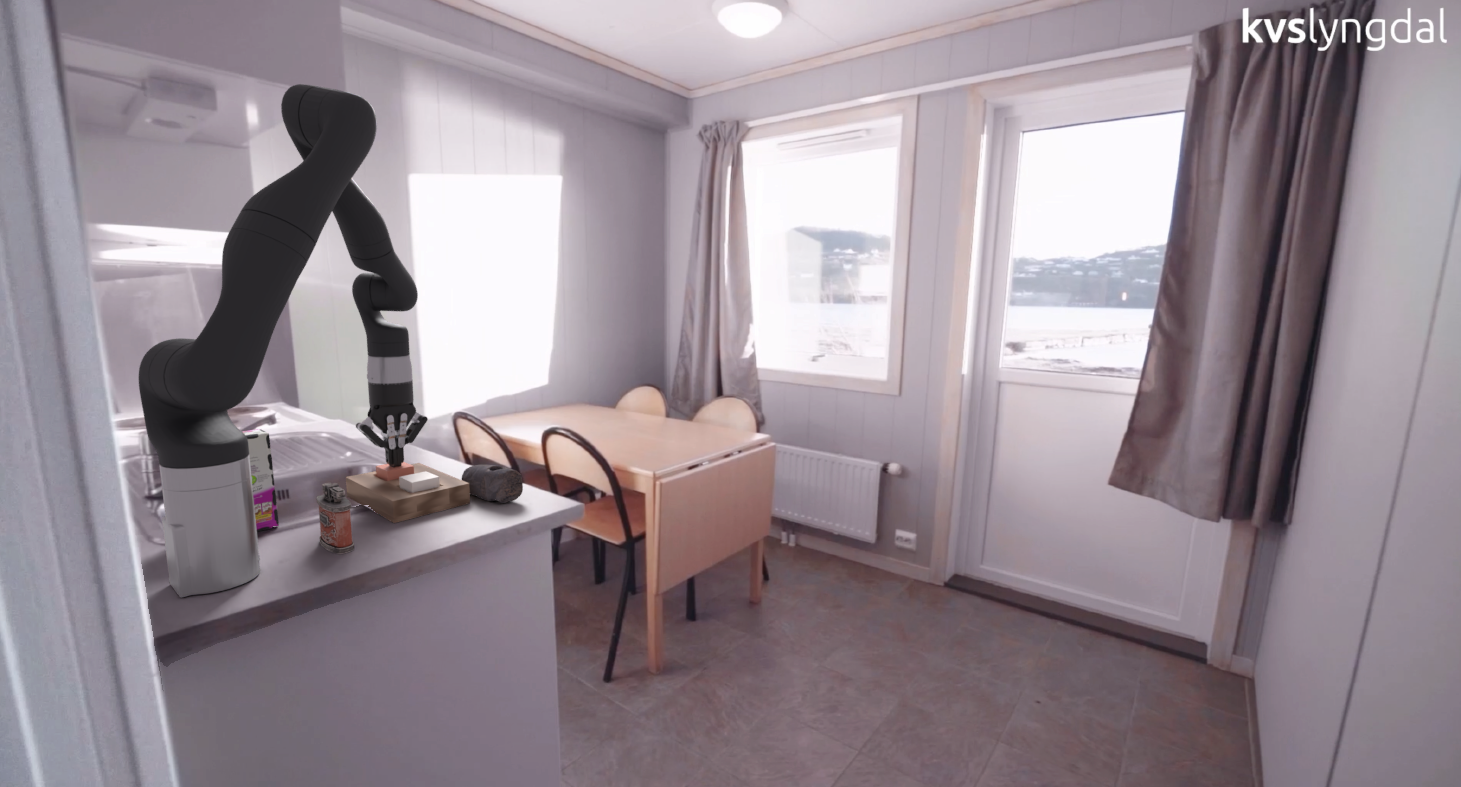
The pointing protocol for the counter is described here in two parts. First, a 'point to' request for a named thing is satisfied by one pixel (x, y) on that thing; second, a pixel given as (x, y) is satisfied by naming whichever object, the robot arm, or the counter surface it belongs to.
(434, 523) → the counter surface
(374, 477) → the frame
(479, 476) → the perforated stone tool
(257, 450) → the candy bar box
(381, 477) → the salmon pink block
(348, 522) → the lighter
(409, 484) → the key white
